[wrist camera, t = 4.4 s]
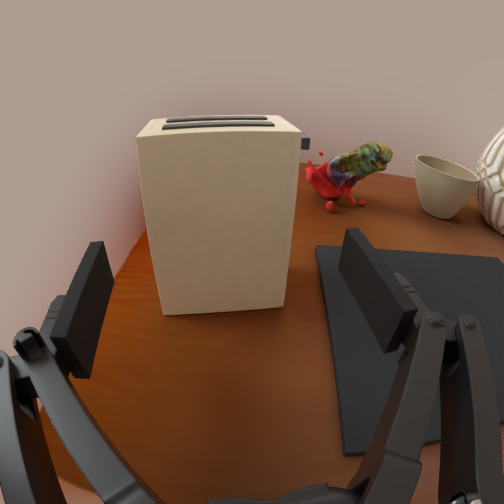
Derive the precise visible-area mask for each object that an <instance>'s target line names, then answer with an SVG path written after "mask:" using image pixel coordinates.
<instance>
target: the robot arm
mask: <svg viewBox="0 0 504 504" xmlns="http://www.w3.org/2000/svg"><path fill="white" fill-rule="evenodd" d="M338 270H339V272H340V273H341V275H342V277H343V279H344V281H345V282H346V284H347V286H348V288H349V289H350V291H351V293H352V295H353V297H354V298H355V300H356V302H357V304H358V306H359V308H360V309H361V311H362V313H363V315H364V317H365V319H366V321H367V322H368V324H369V326H370V328H371V330H372V332H373V334H374V336H375V338H376V340H377V341H378V343H379V345H380V347H381V349H382V351H383V353H384V354H386V353H390V352H394V351H397V350H398V348H399V347H400V345H401V343H402V344H403V345H404V347H405V349H404V351H403V353H402V355H401V356H400V358H399V360H398V362H397V363H399V362H400V363H399V366H398V370H397V373H396V376H395V379H394V382H393V385H392V388H391V391H390V394H389V397H388V400H387V402H386V405H385V408H384V411H383V413H382V416H381V418H380V421H379V424H378V426H377V429H376V431H375V433H374V436H373V438H372V441H371V443H370V445H369V448H368V450H367V452H366V454H365V456H364V459H363V461H362V463H361V465H360V467H359V469H358V471H357V473H356V474H355V476H354V477H353V478H352V480H351V481H350V483H349V484H348V486H347V488H346V489H343V488H338V487H328V484H327V482H326V483H322V484H318V485H314V486H309V487H304V488H299V489H297V490H295V491H292V492H290V493H288V494H285V495H283V496H280V497H278V498H275V499H273V500H257V499H247V498H239V497H235V498H222V499H207V501H208V503H207V504H409V503H410V501H411V498H412V495H413V493H414V490H415V487H416V485H417V482H418V479H419V476H420V473H421V469H422V463H421V462H420V461H419V458H420V454H421V451H422V448H423V444H424V441H425V437H426V434H427V430H428V426H429V423H430V419H431V415H432V410H433V406H434V402H435V397H436V392H437V387H438V382H439V386H440V407H441V453H440V472H439V487H438V501H439V504H504V475H503V464H502V444H501V432H500V422H499V413H498V406H497V399H496V393H495V387H494V381H493V376H492V371H491V366H490V361H489V357H488V352H487V348H486V344H485V340H484V336H483V332H482V328H481V325H480V323H479V321H478V320H477V319H476V318H475V317H473V316H472V315H469V314H463V315H461V316H460V318H459V320H458V321H446V320H445V318H444V317H443V316H442V315H441V314H439V313H438V312H435V311H429V309H428V308H427V306H426V305H425V304H424V302H423V301H422V299H421V298H420V297H419V295H418V294H417V293H416V292H415V290H414V289H413V287H411V284H410V283H409V282H408V280H407V279H406V278H405V277H403V276H402V275H401V274H399V273H393V272H392V271H391V270H390V268H389V267H388V266H387V264H386V263H385V262H384V260H383V259H382V258H381V257H380V255H379V254H378V253H377V251H376V250H375V249H374V247H373V246H372V245H371V244H370V242H369V241H368V240H367V238H366V237H365V236H364V235H363V233H362V232H361V231H360V230H359V228H346V232H345V237H344V241H343V246H342V251H341V255H340V260H339V264H338ZM113 285H114V279H113V275H112V272H111V268H110V265H109V261H108V257H107V253H106V250H105V246H104V242H103V241H98V242H90V244H89V246H88V248H87V250H86V252H85V254H84V257H83V258H82V261H81V263H80V265H79V267H78V269H77V271H76V273H75V276H74V278H73V280H72V282H71V285H70V287H69V289H68V291H67V294H66V295H58V296H57V297H56V299H54V301H53V302H52V303H51V305H50V307H49V310H48V313H47V314H46V317H45V319H44V322H43V324H42V326H41V329H40V331H39V332H38V330H37V329H36V328H33V327H27V328H24V329H22V330H21V331H20V332H18V333H17V335H16V336H15V337H14V341H13V347H14V348H15V349H16V351H17V352H18V354H19V355H17V356H13V357H9V356H8V355H7V354H6V353H5V352H4V351H1V350H0V486H1V490H2V494H3V497H4V501H5V504H67V502H66V500H65V497H64V495H63V492H62V490H61V487H60V484H59V481H58V478H57V475H56V473H55V469H54V466H53V463H52V460H51V457H50V453H49V450H48V446H47V443H46V439H45V435H44V431H43V427H42V423H41V419H40V414H39V409H38V405H37V399H36V398H38V397H39V399H40V400H41V403H42V405H43V407H44V409H45V411H46V413H47V415H48V417H49V418H50V420H51V422H52V424H53V426H54V428H55V430H56V431H57V433H58V435H59V437H60V438H61V440H62V442H63V443H64V445H65V447H66V448H67V450H68V452H69V453H70V455H71V457H72V458H73V460H74V461H75V463H76V464H77V466H78V467H79V469H80V470H81V472H82V473H83V475H84V476H85V478H86V479H87V480H88V482H89V483H90V485H91V486H92V487H93V489H94V490H95V491H96V493H97V494H98V495H99V497H100V498H101V499H102V501H103V502H104V504H166V503H165V502H164V501H162V500H161V499H160V498H159V497H158V496H157V495H156V494H155V493H154V492H153V491H152V490H151V488H150V487H149V486H148V485H147V484H146V483H145V482H144V481H143V480H142V479H141V477H140V476H139V475H138V474H137V473H136V472H135V471H134V469H133V468H132V467H131V466H130V465H129V464H128V462H127V461H126V460H125V459H124V457H123V456H122V455H121V454H120V453H119V451H118V450H117V449H116V447H115V446H114V445H113V444H112V442H111V441H110V440H109V438H108V437H107V436H106V434H105V433H104V432H103V430H102V429H101V427H100V426H99V425H98V423H97V422H96V420H95V419H94V417H93V416H92V415H91V413H90V412H89V410H88V409H87V407H86V406H85V404H84V402H83V401H82V399H81V398H80V396H79V395H78V393H77V391H76V390H75V388H74V387H73V385H72V383H71V382H70V380H69V379H68V376H69V372H70V371H71V373H72V374H73V376H74V377H75V378H81V379H90V376H91V371H92V366H93V362H94V357H95V353H96V349H97V344H98V340H99V336H100V332H101V328H102V324H103V321H104V317H105V313H106V309H107V306H108V302H109V299H110V295H111V292H112V289H113Z"/></svg>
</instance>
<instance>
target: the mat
mask: <svg viewBox="0 0 504 504" xmlns="http://www.w3.org/2000/svg"><path fill="white" fill-rule="evenodd" d="M375 250H376V251H377V253H378V254H379V255H380V257H381V258H382V259H383V260H384V262H385V263H386V264H387V266H388V267H389V268H390V270H391V271H392V272H393V273H399V274H401V275H402V276H403V277H405V278H406V279H407V280H408V282H409V283H410V284H411V287H413V289H414V290H415V292H416V293H417V294H418V295H419V297H420V298H421V299H422V301H423V302H424V304H425V305H426V306H427V308H428V309H429V311H435V312H438V313H439V314H441V315H442V316H443V317H444V318H445V320H446V321H458V320H459V318H460V316H461V315H463V314H469V315H472V316H473V317H475V318H476V319H477V320H478V321H479V323H480V325H481V328H482V332H483V336H484V340H485V344H486V348H487V352H488V357H489V361H490V366H491V371H492V376H493V381H494V387H495V393H496V399H497V406H498V413H499V422H500V424H501V423H504V265H503V263H502V262H501V261H500V259H499V258H493V257H481V256H468V255H455V254H442V253H428V252H414V251H400V250H386V249H375ZM341 251H342V247H341V246H325V245H316V247H315V252H316V258H317V263H318V269H319V274H320V280H321V286H322V291H323V297H324V303H325V310H326V316H327V322H328V329H329V336H330V342H331V349H332V357H333V364H334V372H335V380H336V388H337V397H338V405H339V415H340V425H341V435H342V446H343V456H352V455H363V454H366V452H367V450H368V448H369V445H370V443H371V441H372V438H373V436H374V433H375V431H376V429H377V426H378V424H379V421H380V418H381V416H382V413H383V411H384V408H385V405H386V402H387V400H388V397H389V394H390V391H391V388H392V385H393V382H394V379H395V376H396V373H397V370H398V366H399V363H400V362H399V363H397V362H398V360H399V358H400V356H401V355H402V353H403V351H404V349H405V347H404V345H403V344H402V343H401V345H400V347H399V348H398V350H397V351H394V352H390V353H386V354H384V353H383V351H382V349H381V347H380V345H379V343H378V341H377V340H376V338H375V336H374V334H373V332H372V330H371V328H370V326H369V324H368V322H367V321H366V319H365V317H364V315H363V313H362V311H361V309H360V308H359V306H358V304H357V302H356V300H355V298H354V297H353V295H352V293H351V291H350V289H349V288H348V286H347V284H346V282H345V281H344V279H343V277H342V275H341V273H340V272H339V270H338V264H339V260H340V255H341ZM440 441H441V407H440V386H439V382H438V387H437V392H436V397H435V402H434V406H433V410H432V415H431V419H430V423H429V426H428V430H427V434H426V437H425V441H424V444H423V445H427V444H431V443H436V442H440Z"/></svg>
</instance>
